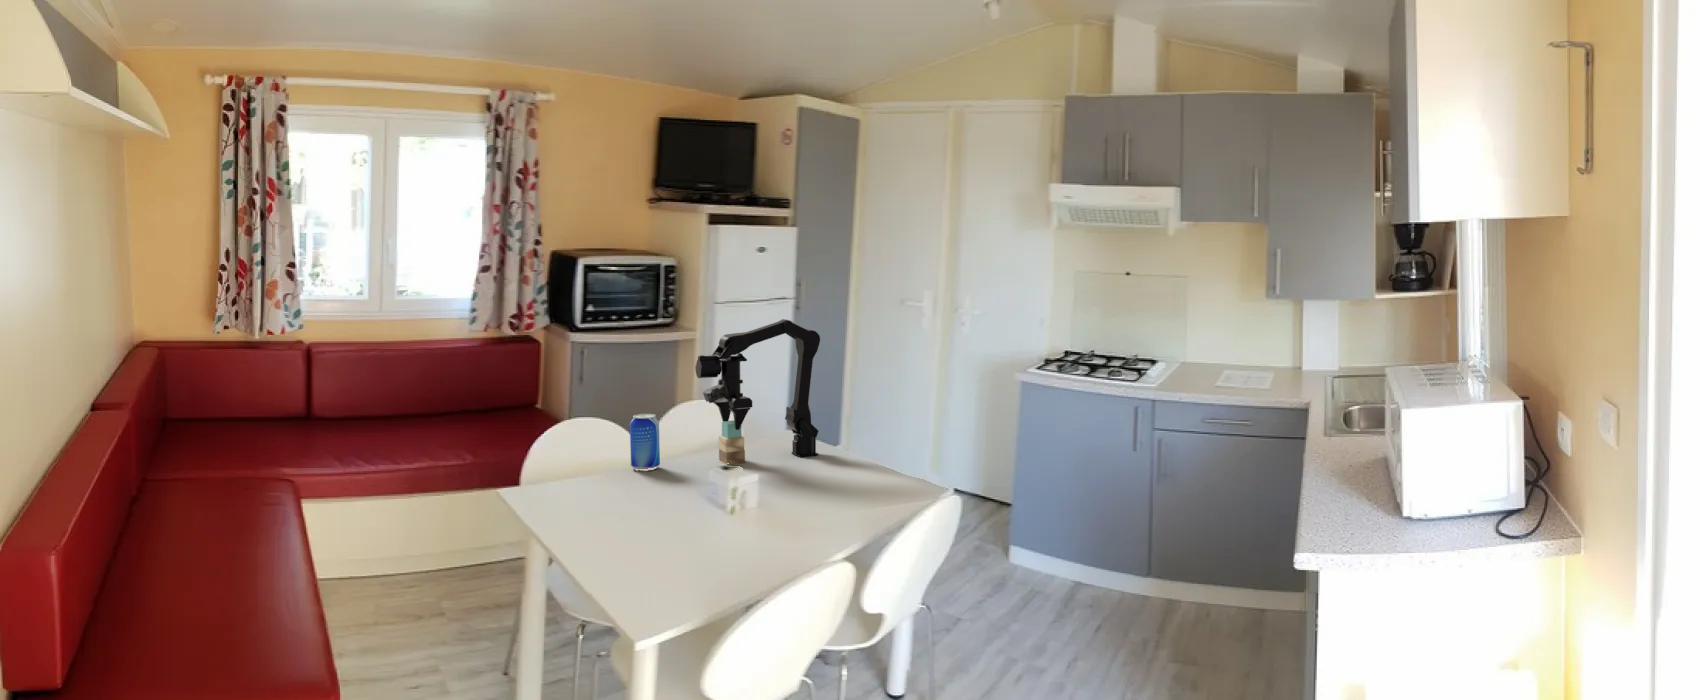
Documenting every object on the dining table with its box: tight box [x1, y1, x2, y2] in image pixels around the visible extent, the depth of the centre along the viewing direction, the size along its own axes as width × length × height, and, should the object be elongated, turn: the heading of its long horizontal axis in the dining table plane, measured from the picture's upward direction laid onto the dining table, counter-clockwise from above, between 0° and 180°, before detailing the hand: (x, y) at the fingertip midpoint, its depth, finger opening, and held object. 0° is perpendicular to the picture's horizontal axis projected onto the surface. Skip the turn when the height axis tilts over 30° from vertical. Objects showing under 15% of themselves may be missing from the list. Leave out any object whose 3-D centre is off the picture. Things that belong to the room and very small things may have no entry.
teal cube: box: [721, 420, 743, 439], centre depth 312 cm, size 4×4×4 cm
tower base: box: [718, 448, 746, 465], centre depth 313 cm, size 6×6×4 cm
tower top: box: [718, 435, 745, 452], centre depth 312 cm, size 6×6×4 cm
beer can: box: [629, 413, 661, 470], centre depth 303 cm, size 8×8×16 cm
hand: (731, 427), depth 312 cm, fingers open, 9 cm apart
